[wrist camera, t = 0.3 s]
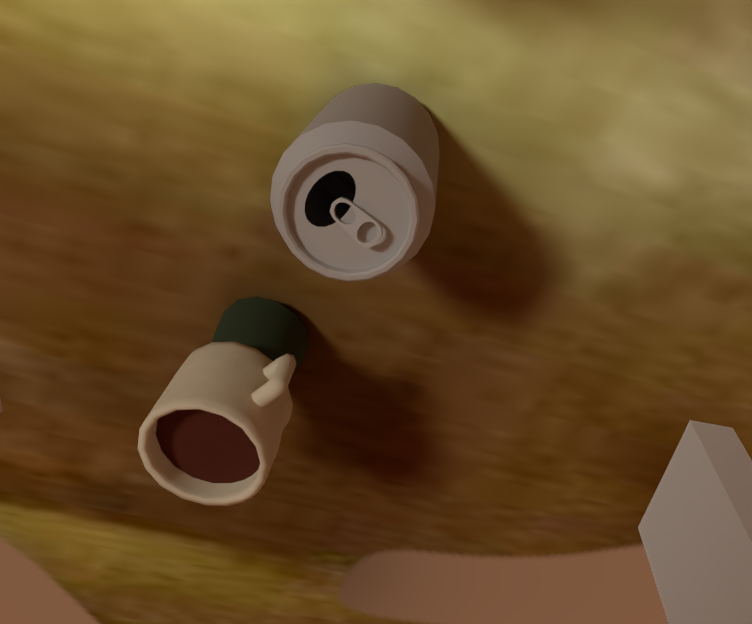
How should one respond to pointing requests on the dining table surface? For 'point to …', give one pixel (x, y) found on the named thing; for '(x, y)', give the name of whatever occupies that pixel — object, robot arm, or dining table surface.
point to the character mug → (226, 407)
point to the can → (359, 184)
